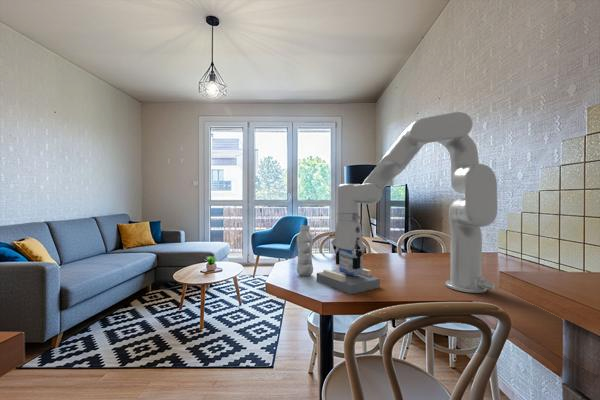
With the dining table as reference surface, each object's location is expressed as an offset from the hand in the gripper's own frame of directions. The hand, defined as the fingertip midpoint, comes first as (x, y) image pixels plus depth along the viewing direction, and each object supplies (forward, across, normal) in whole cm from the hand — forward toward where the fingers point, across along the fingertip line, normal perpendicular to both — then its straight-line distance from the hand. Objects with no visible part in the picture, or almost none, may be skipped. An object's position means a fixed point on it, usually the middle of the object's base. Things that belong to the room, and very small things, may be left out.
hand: (347, 266), depth 103 cm
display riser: (+6, 0, 0) cm, 6 cm away
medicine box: (+3, 0, -2) cm, 3 cm away
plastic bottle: (+7, +18, +6) cm, 20 cm away
